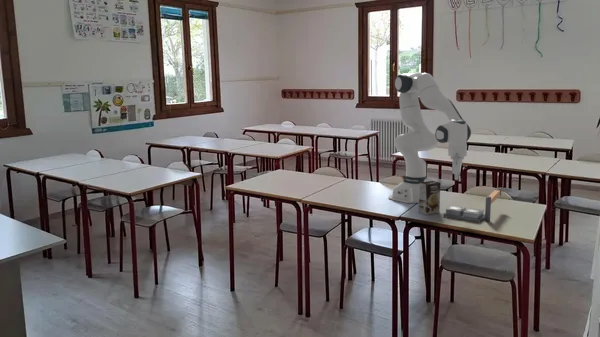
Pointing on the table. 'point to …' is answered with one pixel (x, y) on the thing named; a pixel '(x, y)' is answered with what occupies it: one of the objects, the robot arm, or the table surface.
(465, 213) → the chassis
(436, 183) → the coffee box
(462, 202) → the table surface
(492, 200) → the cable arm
